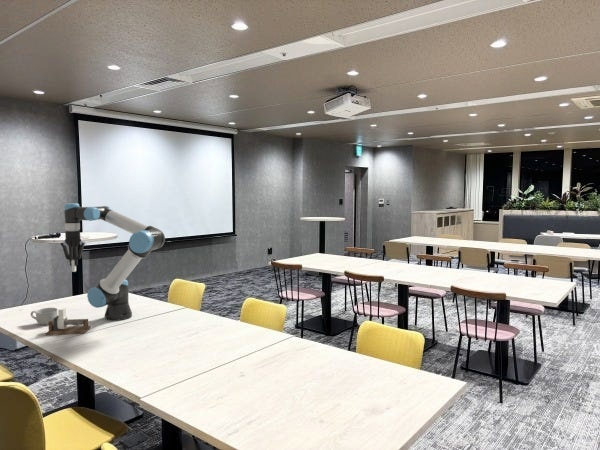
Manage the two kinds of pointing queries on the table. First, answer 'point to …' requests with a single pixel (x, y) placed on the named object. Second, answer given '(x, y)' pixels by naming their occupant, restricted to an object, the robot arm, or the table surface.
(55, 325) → the charcoal slab
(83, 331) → the pipe rig
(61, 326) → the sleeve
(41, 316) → the teacup
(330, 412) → the table surface
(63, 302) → the table surface
